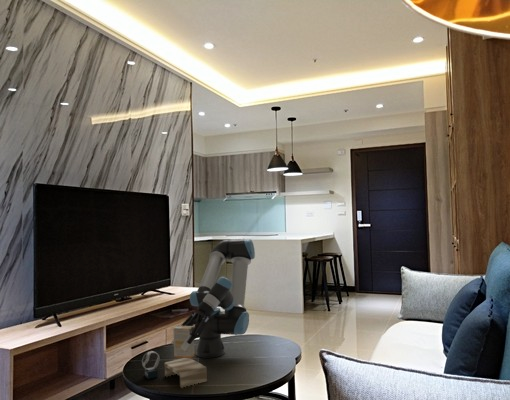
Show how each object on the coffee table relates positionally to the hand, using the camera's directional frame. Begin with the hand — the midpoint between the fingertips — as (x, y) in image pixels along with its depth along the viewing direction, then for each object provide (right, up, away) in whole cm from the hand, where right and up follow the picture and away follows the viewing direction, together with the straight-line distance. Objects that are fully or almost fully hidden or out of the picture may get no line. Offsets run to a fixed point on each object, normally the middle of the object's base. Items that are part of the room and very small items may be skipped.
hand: (177, 346), depth 178 cm
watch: (-13, -16, +5) cm, 21 cm away
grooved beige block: (+3, -15, +1) cm, 15 cm away
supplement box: (+3, -5, +2) cm, 6 cm away
